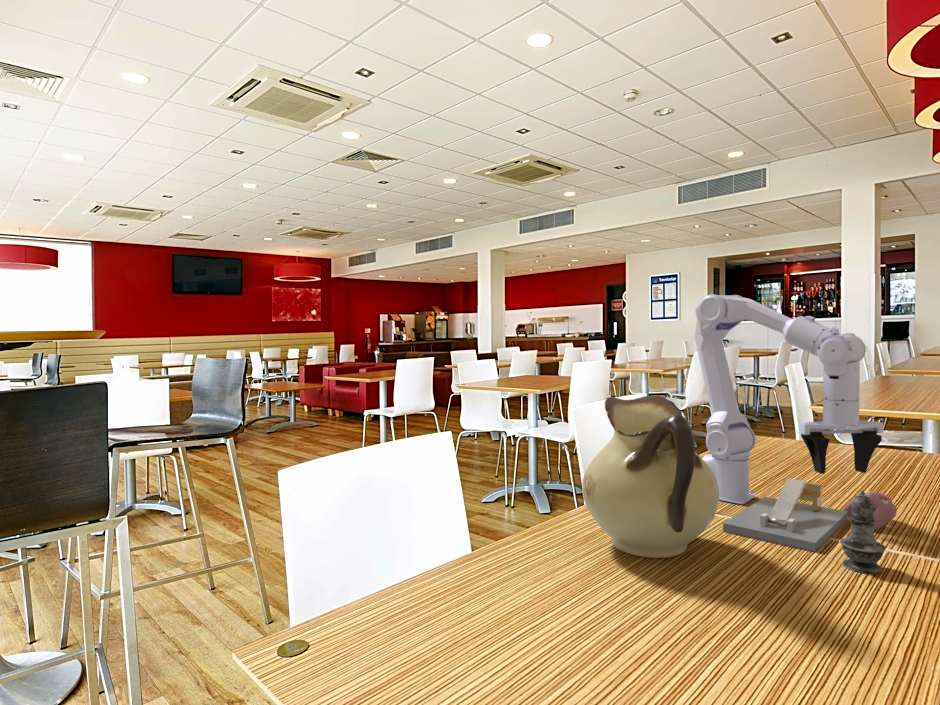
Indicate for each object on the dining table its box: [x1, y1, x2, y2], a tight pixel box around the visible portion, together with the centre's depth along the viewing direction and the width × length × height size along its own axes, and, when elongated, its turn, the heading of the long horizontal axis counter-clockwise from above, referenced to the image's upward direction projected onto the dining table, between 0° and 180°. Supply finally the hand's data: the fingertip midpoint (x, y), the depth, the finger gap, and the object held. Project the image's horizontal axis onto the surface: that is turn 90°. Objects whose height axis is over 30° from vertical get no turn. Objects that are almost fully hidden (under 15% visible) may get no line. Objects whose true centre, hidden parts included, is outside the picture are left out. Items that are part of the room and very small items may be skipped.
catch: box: [799, 481, 823, 511], centre depth 116 cm, size 5×3×4 cm, turn 45°
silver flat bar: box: [768, 477, 806, 526], centre depth 109 cm, size 3×12×1 cm, turn 135°
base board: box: [722, 496, 849, 553], centre depth 110 cm, size 15×22×3 cm
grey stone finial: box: [839, 489, 886, 575], centre depth 91 cm, size 6×6×12 cm
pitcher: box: [581, 395, 720, 559], centre depth 101 cm, size 22×24×25 cm
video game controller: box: [843, 490, 898, 531], centre depth 110 cm, size 10×5×7 cm, turn 167°
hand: (840, 472), depth 110 cm, fingers open, 7 cm apart
